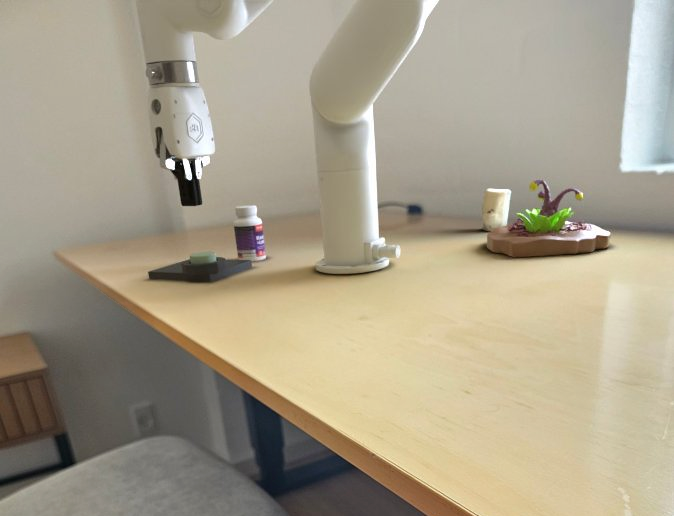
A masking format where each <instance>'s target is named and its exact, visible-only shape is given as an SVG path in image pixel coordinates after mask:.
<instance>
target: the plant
mask: <svg viewBox="0 0 674 516" xmlns="http://www.w3.org/2000/svg"><path fill="white" fill-rule="evenodd" d="M540 185H542V187H543V191H542V190H540V191H539V192H538V194H537V199H538V201H540V202H541V201H543V204H542V206H541V209H540V208H537V207H534V208H532V210H529V209H525V213H526V214H527V215H528V216H529V218H528V217H527V216H526V215H524V214H523V213H519V212H516V213H515V214H516V216H518V217H519V218H518V219H517V221H516V222H513V223H511V224H507V225H506V226H503V227H501V228H497V229H494V230H492V231H489V232H488V234H487V236H486V248H487V250H489V251H490V252H492V253H497V254H504V255H507V256H509V257H512V258H528V257H539V256H540V257H544V256H545V257H547V256H559V255H560V256H561V255H576V254H581V253H582V254H583V253H593V252H594V251H595V250H601V249H602V250H603V249H604V250H605V249H607V248H609V246H610V243H611V232H610V231H608V230H605V229H602V228H601V227H599V226H597V225H595V224H592V223H584V220H582V221H573V222H572V221H571V220H569V218H570V217H572V216H573V214H575V211H572V212H570V211H571V210H572V208H571V207H566V208H563V209H561V210H559V206H560V203H561V201H562V200H563V197H564V196H565V195H566V194H568V193H571V192H574V195H575V196H574V197H575V199H576V200H577V201H579V202H581V201H582V200H583V199H584V193H583V192H582V191H580V189H577V188H573V187H570V188H566V189H564V190H563V191H560V192H559V194H557V196H556V197H555V198H554V199H553V200H551V190H550V187H549V186H548V184H547V183H546V181H545V180H544V179H536V180H532V181H531V182H530V184H529V186H528V188H529V191H530V192H535V191H536V190H538V188H539V186H540Z"/></svg>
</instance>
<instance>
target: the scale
mask: <svg viewBox="0 0 674 516" xmlns="http://www.w3.org/2000/svg"><path fill="white" fill-rule="evenodd" d="M216 259H217V261H215V262H211V263H205V264H191V262H190V258H189V259H185V260H181V261H179V262H175V263H172V264H169V265H165V266H162V267H159V268H155V269H152V270H148V271H147V274H148V275H147V276H148V280H155V281H156V280H159V281H177V282H178V281H179V282H196V283H197V282H199V283H213V282H216V281H219V280H221V279H224V278H227V277H230V276H233V275H235V274H238V273H241V272H243V271H247V270H250V269H252V268H253V263H252V262H253V261H252V262H251V260H239V259H229V258H225V257H222V256H216Z"/></svg>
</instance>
